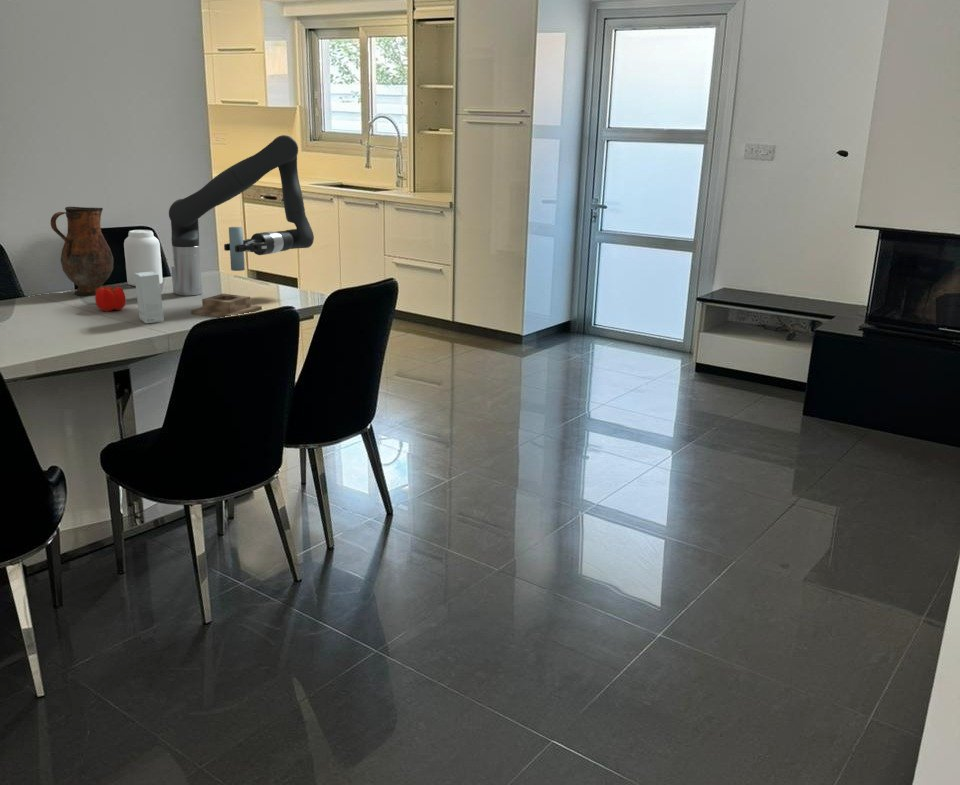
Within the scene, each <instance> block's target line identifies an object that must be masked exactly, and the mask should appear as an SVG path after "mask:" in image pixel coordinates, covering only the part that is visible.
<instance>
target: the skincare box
mask: <svg viewBox="0 0 960 785" xmlns="http://www.w3.org/2000/svg"><path fill="white" fill-rule="evenodd" d="M134 276H135V284H136V286H135V291H136V299H137V306H138V307H137V308H138V316H139V320H140V321H142V322H143V323H144V324H151V323H152V324H153V323H164V322H165V317H164V310H163V309H164V308H163V302H162V301H163V299H162V294H161V292H162V291H161V284H160V283H159V275H158V274H156V273H154V272H141V273H134Z"/></svg>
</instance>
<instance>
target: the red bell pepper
mask: <svg viewBox="0 0 960 785" xmlns="http://www.w3.org/2000/svg"><path fill="white" fill-rule="evenodd" d="M94 296H95V298H94V301H95V304H96V306H97V307H96V308H98V309H100V310H102V311H104V312H111V311H113V310H116V311H119V310H121V309H123V308H124V307H125V305H126V294H125V292H124V289H123V288H122V287H120V286H115V287H114V286H113V287H111V286H103V288H99V289H98V290H97V291H96V295H94Z"/></svg>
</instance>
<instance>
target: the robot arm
mask: <svg viewBox="0 0 960 785" xmlns="http://www.w3.org/2000/svg"><path fill="white" fill-rule="evenodd" d="M298 154H299V146H298V143H297V141H296V140H295V139H294V138H293V137H292V136H290V135H285V134H284V135H283V134H282V135H279V136H277V137H275V138H274V139H273V140H272V141H271V142H270V143H268V144H267V145H266V146H265V147H263V148H262V149H261V150H260V151H258V152H257V153H254V154H253V155H251V156H249V157H246V158H244V159H242V160H241V161H238V162H237V163H235V164H233V165H230V167H228V168H226V169H224V170H223V171H221V172H220V173H218V174H216V176H214V178H212V179H211V180H210V181H209V182H207V183H206V184H204V186H203V187H202V188H200V189H199V190H197V191H196V192H194V193H192V194H190V195H188V196H187V197H184V198H178V199H177V200H175V201H174V202H172V203H171V205H170V207H169V209H168V217H169V220H170V227H171V229H170V230H171V240H170V241H171V250H172V261H173V264H172V266H171V269H170V270H171V280H172V282H171V283H172V292H173V294H174V295H175V294H176V295H178V296H197V295H202V294H203V280H202V279H203V278H202V265H201V264H202V263H201V252H200V251H201V248H200V230H199V228H200V226H199V219H200V218H201V217H202V216H204V215H205V214H206V213H208V212H209V211H211V210H212V209H214V208H215V207H218V206H220V205H222V204H225V203H227V202H228V201H230V200H231V199H234V198H235V197H237V196H239V195H240V194H242V193H244V192H245V191H246V190H248V189H250V188H251V187H252V186H254V185H255V184H256V183H257V182H259V181H260V180H261V179H262V178H263V177H264V176H266V175H267V174H268V173H270V172H272V170H275V169H276V168H278V171H279V172H278V173H279V176H280V183H281V189H282V190H281V191H282V199H283V200H282V201H283V202H282V203H283V208H284V214H285V219H286V221H287V222H288V223H292V224H294V225H295V228H292V229H291V228H290V229H287V230H278V231H265V232H263V231H262V232H257V233H253V235H252V236H251V238H245V239H243V244H242V245H236V246H235V252H243V251H244V253H245V252H246V253H254V254H255V255H257V256H263V255H271V254H276V253H279V252H286V251H289V250H294V249H295V250H296V249H308V248H310V247H312V246H313V244H314V236H315V235H314V232H313V229H312V227H311V225H310V224H311V223H310V222H309V220H308V218H307V214H306V209H305V204H304V202H305V201H304V197H303V193H302V190H301V189H302V188H301V185H300V180H299V173H298ZM228 242H229V241H228ZM223 248H224V251H225V252H226V251H227V252H228V251H229V252H230V242H229V243H224V245H223Z"/></svg>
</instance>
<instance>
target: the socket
mask: <svg viewBox="0 0 960 785" xmlns="http://www.w3.org/2000/svg"><path fill="white" fill-rule="evenodd" d="M201 302H202V307H198V308H194V309H192V310H190V314H194V315H202V316H209V317H218V318H224V317H225V316H231V315H238V314H244V313H249V312H252V313H254V312H258V311H260V310H261V311H262V310H263V307H262V306H260V305H252V304H251V297H250V296H246V295H239V294H238V295H237V294H230V293H220V294H217V295H214V296H213V295H212V296H209V297H206V298H202V299H201ZM249 314H250V313H249Z"/></svg>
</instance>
